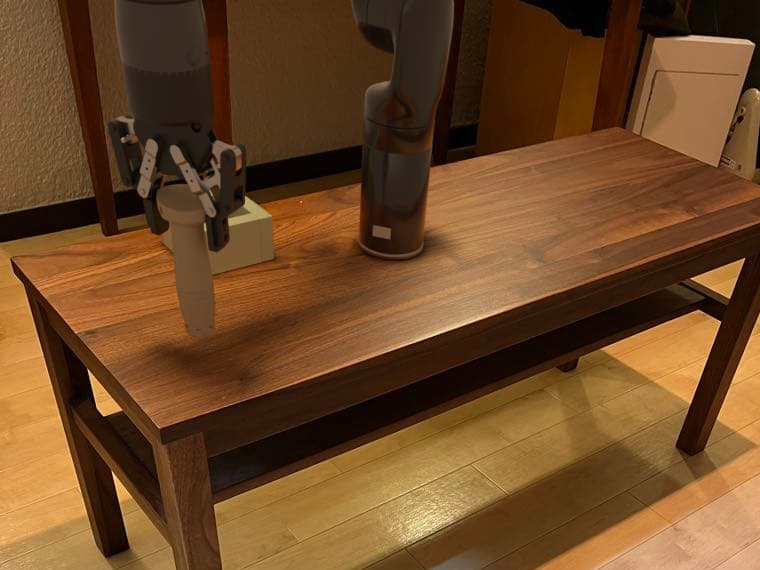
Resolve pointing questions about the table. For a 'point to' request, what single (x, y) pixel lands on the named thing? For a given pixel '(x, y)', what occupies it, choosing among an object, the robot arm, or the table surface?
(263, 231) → the frame
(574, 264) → the table surface
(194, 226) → the handle
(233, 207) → the robot arm
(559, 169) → the table surface
